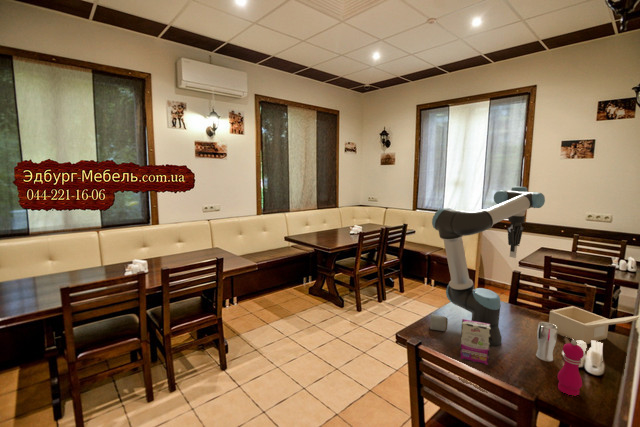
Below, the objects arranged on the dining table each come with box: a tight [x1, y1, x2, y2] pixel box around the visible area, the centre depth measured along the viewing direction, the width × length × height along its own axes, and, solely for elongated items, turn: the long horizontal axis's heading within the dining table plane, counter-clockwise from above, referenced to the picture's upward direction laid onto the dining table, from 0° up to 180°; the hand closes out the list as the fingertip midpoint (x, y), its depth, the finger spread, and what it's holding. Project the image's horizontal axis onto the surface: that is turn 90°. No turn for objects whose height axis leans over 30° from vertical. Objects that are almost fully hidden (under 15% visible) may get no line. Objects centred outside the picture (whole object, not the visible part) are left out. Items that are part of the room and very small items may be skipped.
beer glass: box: [535, 321, 558, 363], centre depth 135 cm, size 7×7×15 cm
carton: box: [548, 305, 609, 345], centre depth 156 cm, size 18×16×10 cm
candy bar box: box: [459, 318, 491, 366], centre depth 134 cm, size 11×5×16 cm, turn 64°
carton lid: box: [586, 315, 639, 327], centre depth 141 cm, size 18×16×1 cm
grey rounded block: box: [429, 313, 449, 332], centre depth 161 cm, size 11×8×8 cm
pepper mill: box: [557, 340, 585, 396], centre depth 114 cm, size 7×7×20 cm
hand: (512, 257), depth 173 cm, fingers closed
